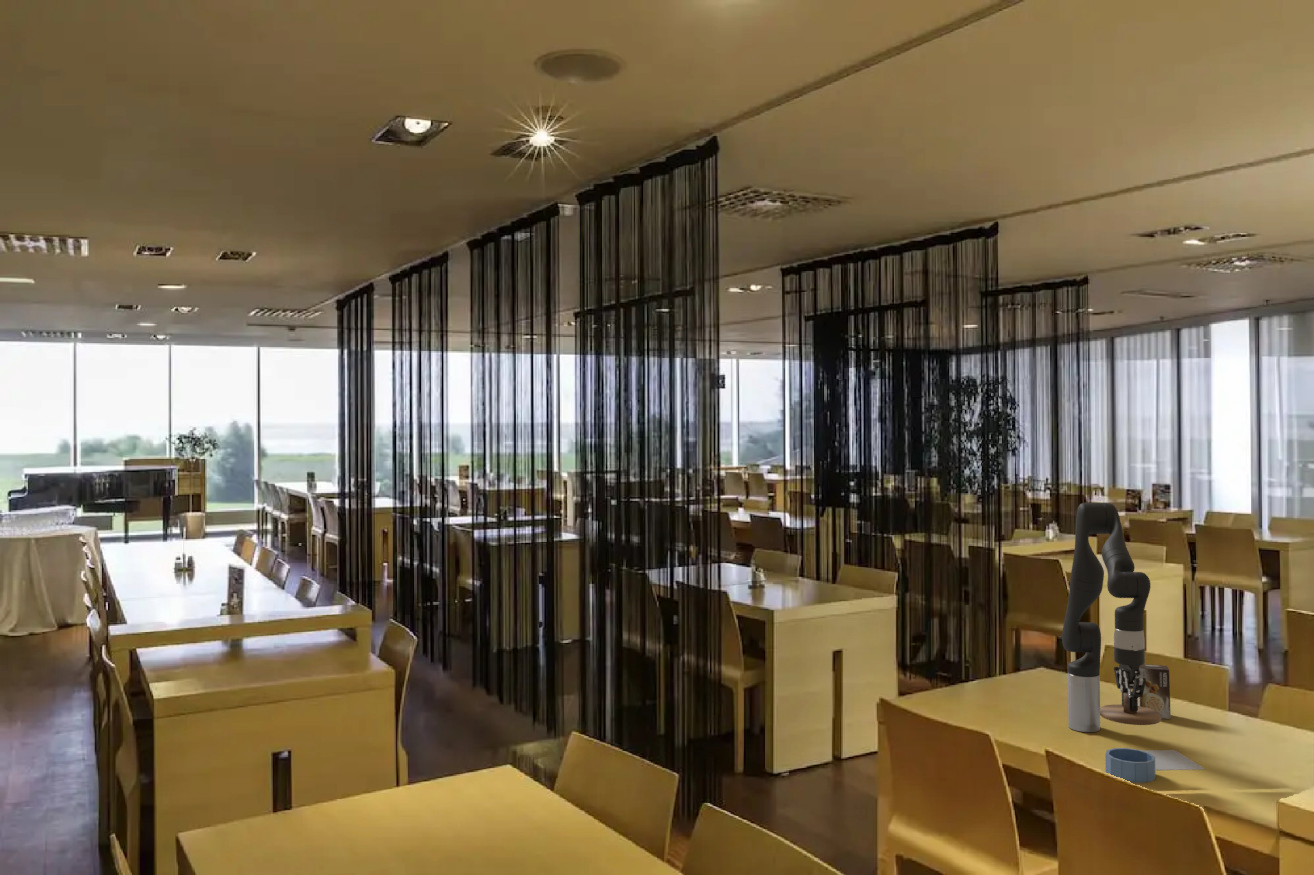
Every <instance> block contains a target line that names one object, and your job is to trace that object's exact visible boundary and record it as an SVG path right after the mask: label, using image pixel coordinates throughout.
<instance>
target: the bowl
mask: <svg viewBox="0 0 1314 875" xmlns="http://www.w3.org/2000/svg"><path fill="white" fill-rule="evenodd" d="M1156 771H1157V770H1156V766H1155V756H1153V755H1152V754H1150V753H1148V752H1145V751H1143V750H1142V749H1135V748H1129V747H1113V748H1110V749H1106V751H1105V773H1106V774H1107V773H1110V774H1111V775H1114V776H1116V777H1120V778H1123V779H1125V780H1127V781H1132V782H1131V783H1134V784H1135V783H1137V784H1141V783H1151V782H1153V781H1154V780H1156V777H1157V775H1156V773H1157V772H1156ZM1127 781H1126V782H1127Z"/></svg>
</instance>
